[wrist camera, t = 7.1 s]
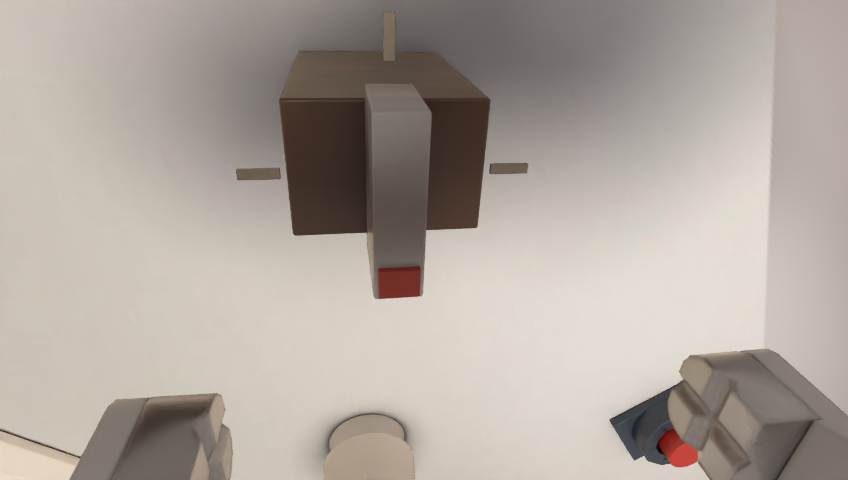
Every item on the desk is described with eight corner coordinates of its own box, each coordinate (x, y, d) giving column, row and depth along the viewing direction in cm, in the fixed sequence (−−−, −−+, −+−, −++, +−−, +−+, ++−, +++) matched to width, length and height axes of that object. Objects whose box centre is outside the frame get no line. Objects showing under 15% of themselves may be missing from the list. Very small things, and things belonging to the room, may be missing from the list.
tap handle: (364, 82, 16) (372, 113, 12) (413, 83, 16) (434, 113, 13) (367, 245, 19) (373, 304, 15) (408, 243, 19) (424, 301, 16)
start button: (688, 418, 40) (702, 435, 39) (697, 437, 42) (711, 455, 40) (653, 436, 41) (665, 453, 39) (663, 454, 42) (675, 472, 41)
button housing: (694, 375, 41) (714, 397, 39) (710, 413, 44) (729, 436, 42) (609, 419, 42) (624, 444, 40) (630, 454, 45) (645, 478, 43)
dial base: (471, -3, 24) (550, 16, 16) (457, 188, 29) (510, 284, 20) (257, -11, 23) (209, 6, 14) (280, 193, 28) (255, 299, 19)
